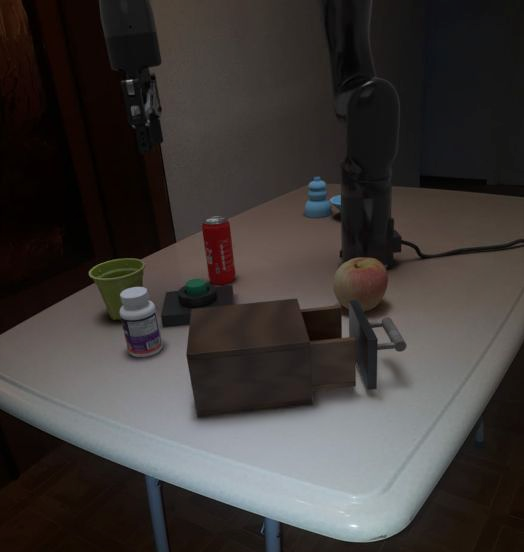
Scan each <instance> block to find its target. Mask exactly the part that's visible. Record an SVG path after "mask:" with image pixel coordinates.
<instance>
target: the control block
mask: <svg viewBox="0 0 524 552" xmlns="http://www.w3.org/2000/svg"><path fill="white" fill-rule="evenodd" d="M206 283H207V290H208V291H207V292H206V293H204V294H200V295H187V293H186V287H185V285H183V286H182V287H180V288H179V289H178V290H172V291H166V292H165V295H164V300H163V305H162V310H161V314H160V319H161V323H162V328H171V327H181V326H182V327H183V326H190V317H191V309H199V308H208V307H218V306H227V305H235V295H234V286H233V284H230V285H228V284H227V285H218V286H217V285H215V284H213V283H212V282H211V283H209V282H206Z"/></svg>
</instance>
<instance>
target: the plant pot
mask: <svg viewBox="0 0 524 552" xmlns="http://www.w3.org/2000/svg"><path fill="white" fill-rule="evenodd" d="M145 267H146V263H145V261H143V260H142V259H139V258H132V257H131V258H130V257H129V258H128V257H127V258H126V257H125V258H115V259H112V260H107V261H105V262H102V263H99V264H96V265H95V266H93V267H92V268H90V270H89V271H88V276H89V278H90V279H92V280H93V283H94V285H96V286H97V289H98V291H99V293H100V295H101V298H102V301H103V303H104V305H105V308H106V310H107V313H108V314H109V317H110V319H111V320H113V321H117V320H119V321H121V318H120V309H121V307H122V306H123V304H122V302H121V297H120V294H121V292H122V291H124V290H126V289H128V288H132V287H144V280H143V278H144V277H143V276H144V269H145Z"/></svg>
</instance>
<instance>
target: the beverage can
mask: <svg viewBox="0 0 524 552" xmlns="http://www.w3.org/2000/svg"><path fill="white" fill-rule="evenodd" d="M201 231H202V238H203V246H204V252H205V253H204V254H205V259H206V260H205V261H206V267H207V274H208V278H209V280H210V282H211V284H213V285H215V286H225V285H228V284H232V282H234V281H235V277H236V266H235V259H234V249H233V241H232V232H231V223H230V222H229V218H228V217H227V216H222V215H218V216H209V217H207V218H204V219H203V220H202V224H201Z"/></svg>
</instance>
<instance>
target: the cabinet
mask: <svg viewBox="0 0 524 552" xmlns="http://www.w3.org/2000/svg"><path fill="white" fill-rule="evenodd" d="M301 309H302V308H301V306H300V302H299V299H298V298H297V297H295V298H287V299H275V300H268V301H267V300H265V301H258V302H248V303H239V304H238V303H237V304H234V305H227V306H218V307H208V308H199V309H191V317H190V325H188V326H189V327H188V336H187V345H186V352H185V354H186V361H187V367H188V373H189V378H190V384H191V391H192V395H193V396H192V397H193V402H194V407H195V412H196V417H197V418H200V417H212V416H219V415H221V416H222V415H230V414H240V413H241V414H242V413H249V412H258V411H268V410H269V411H270V410H277V409H287V408H295V407H296V408H297V407H305V406H313V405H314V400H313V399H314V397H313V391H312V374H311V354H310V340H309V337H308V333H307V330H306V327H305V323H304V320H303V316H302V313H301Z"/></svg>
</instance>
